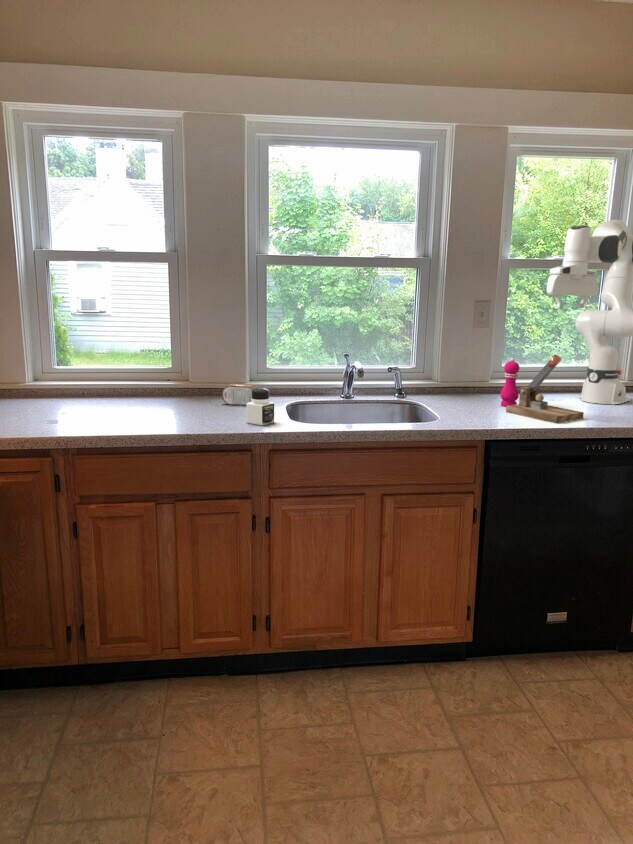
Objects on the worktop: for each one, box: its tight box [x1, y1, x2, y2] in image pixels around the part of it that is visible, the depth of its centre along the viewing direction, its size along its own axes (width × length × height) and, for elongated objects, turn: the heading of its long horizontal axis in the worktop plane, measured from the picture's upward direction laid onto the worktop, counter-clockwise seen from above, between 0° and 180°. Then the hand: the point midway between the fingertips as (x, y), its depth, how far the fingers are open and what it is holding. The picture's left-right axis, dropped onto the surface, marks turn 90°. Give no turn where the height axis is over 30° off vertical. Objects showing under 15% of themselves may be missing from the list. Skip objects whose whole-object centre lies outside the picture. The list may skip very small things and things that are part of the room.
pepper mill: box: [499, 357, 520, 408], centre depth 258 cm, size 7×7×20 cm
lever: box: [527, 354, 562, 396], centre depth 242 cm, size 21×3×3 cm
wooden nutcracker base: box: [505, 386, 584, 424], centre depth 242 cm, size 16×23×10 cm
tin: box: [221, 383, 257, 407], centre depth 252 cm, size 15×3×8 cm, turn 80°
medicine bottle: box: [245, 387, 275, 426], centre depth 221 cm, size 7×7×12 cm
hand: (570, 307), depth 238 cm, fingers open, 8 cm apart
